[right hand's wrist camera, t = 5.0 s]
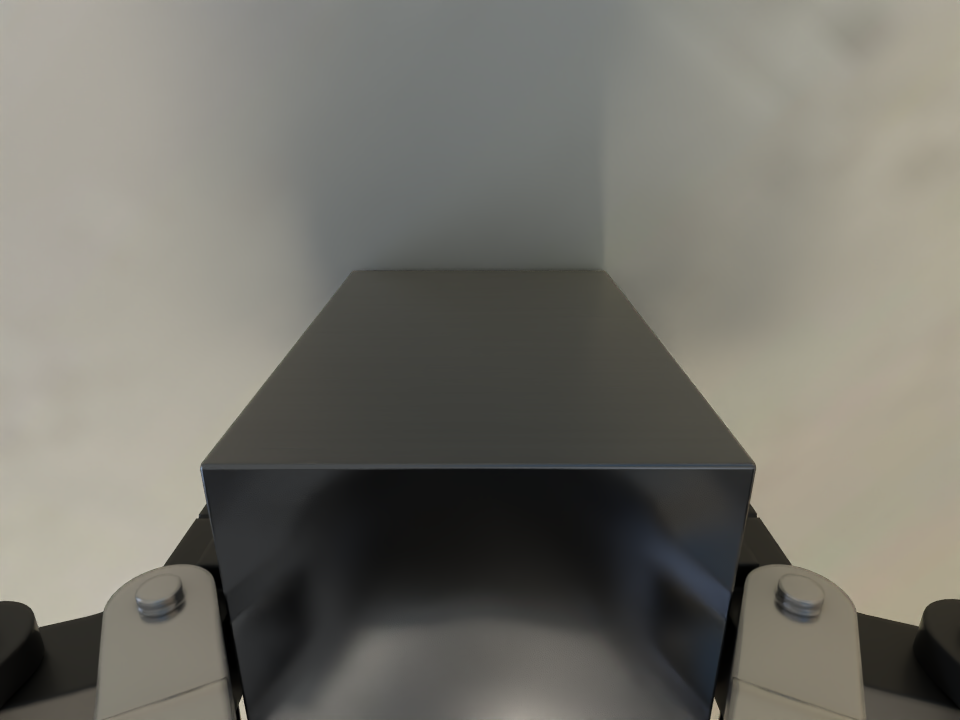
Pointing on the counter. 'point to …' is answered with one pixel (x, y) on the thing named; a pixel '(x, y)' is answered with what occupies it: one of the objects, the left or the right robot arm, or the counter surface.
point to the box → (478, 510)
